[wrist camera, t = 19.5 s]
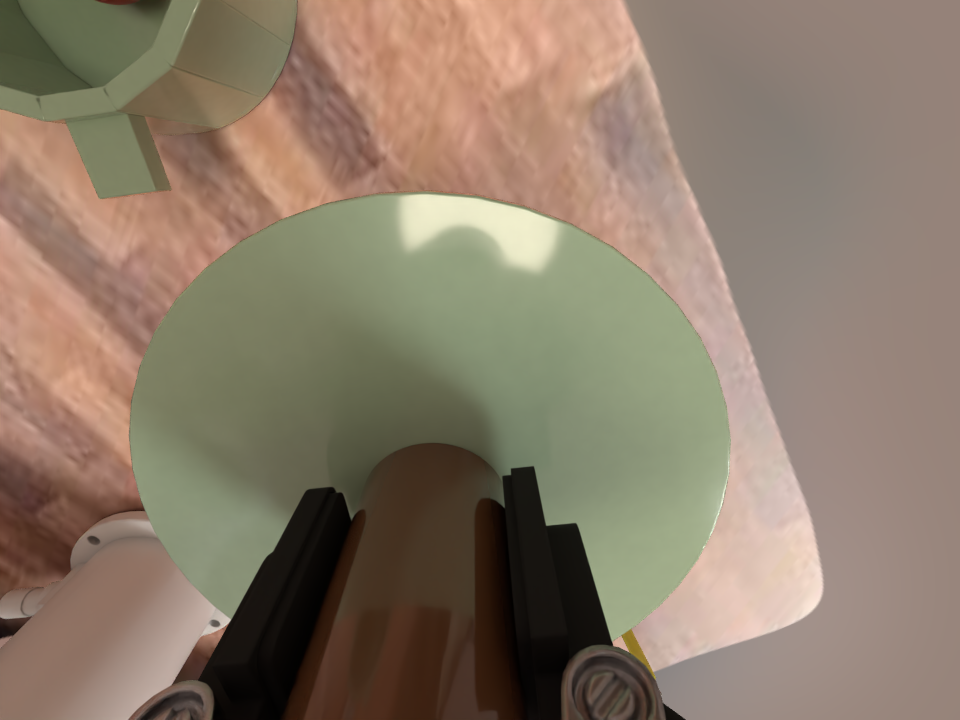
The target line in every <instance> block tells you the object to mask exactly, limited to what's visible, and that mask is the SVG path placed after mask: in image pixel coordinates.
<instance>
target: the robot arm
mask: <svg viewBox="0 0 960 720" xmlns="http://www.w3.org/2000/svg"><path fill="white" fill-rule="evenodd" d="M502 481H503V493H504V504H505V515H506V526H507V538H508V549H509V560H510V571H511V583H512V594H513V605H514V617H515V627H516V637H517V646H518V655H519V663H520V671H521V679H522V687H523V689H524V691H525V695H526V699H527V706H528V716H529V720H685V719H684V718H683V717H681V716H680V715H678V714H677V713H676V712H675V711H673V710H672V709H670V708H669V707H667V706H666V705H665V704H664V703H663V702H662V697H661V694H660V691H659V688H658V686H657V683H656V680H655V679H654V677H653V676H652V674H651V673H650V671H649V670H648V668H647V667H646V666H645V665H644V664H643V663H642V662H641V661H640V660H639V659H637V658H636V657H635V656H634V655H633V654H631V653H629V652H627V651H625V650H623V649H621V648H619V647H614V646H613V643H612V640H611V637H610V633H609V630H608V626H607V623H606V619H605V616H604V613H603V609H602V606H601V602H600V599H599V596H598V592H597V589H596V585H595V582H594V578H593V575H592V572H591V568H590V565H589V561H588V558H587V555H586V551H585V548H584V544H583V541H582V538H581V534H580V531H579V528H578V525H577V524H576V523H569V524H559V525H549V526H546V523H545V518H544V513H543V508H542V503H541V498H540V493H539V488H538V483H537V478H536V473H535V468H534V466H530V467H520V468H511V475H505V476H502ZM350 524H351V518H350V514H349V511H348V507H347V504H346V501H345V497H344V495H343V493H342V492H336V490H335V488H334V487H323V488H313V489H308V490H306V492H305V493H304V495H303V496H302V498H301V500H300V502H299V504H298V506H297V508H296V510H295V511H294V513H293V515H292V517H291V519H290V521H289V523H288V524H287V526H286V528H285V530H284V532H283V534H282V536H281V538H280V539H279V541H278V543H277V545H276V547H275V549H274V551H273V552H272V553H270V554H269V555H268V556H267V557H266V558H265V560H264V561H263V563H262V564H261V566H260V568H259V570H258V572H257V574H256V575H255V577H254V579H253V581H252V583H251V584H250V586H249V588H248V590H247V592H246V594H245V595H244V597H243V599H242V601H241V603H240V605H239V606H238V608H237V610H236V612H235V614H234V616H233V617H232V619H230V618H228V617H227V616H226V615H225V614H223V613H222V612H221V611H220V610H218V609H217V608H216V607H214V606H213V605H212V604H211V603H210V602H209V601H208V600H207V599H206V598H205V597H204V596H203V595H202V594H201V593H200V592H199V591H198V590H197V589H196V588H195V587H194V586H193V585H192V584H191V583H190V582H189V581H188V579H187V578H186V577H185V576H184V574H183V573H182V572H181V571H180V569H179V568H178V567H177V566H176V564H175V563H174V562H173V561H172V559H171V558H170V556H169V555H168V553H167V552H166V550H165V548H164V547H163V545H162V543H161V542H160V540H159V538H158V537H157V535H156V533H155V532H154V530H153V528H152V525H151V523H150V521H149V518H148V516H147V514H146V511H129V512H124V513H118V514H114V515H112V516H109V517H107V518H104V519H102V520H100V521H99V522H97V523H96V524H94V525H93V526H92V527H91V528H90V529H89V530H87V531H86V532H85V533H84V534H83V535H82V536H81V537H80V538H79V539H78V541H77V542H76V544H75V546H74V547H73V550H72V554H71V558H70V564H71V571H70V572H69V573H68V574H67V575H66V576H65V577H64V578H63V579H62V580H60V581H56V582H52V583H51V584H49V585H48V586H46V587H45V588H43V587H32V588H22V589H14V590H12V591H9V592H8V593H7V594H5V595H4V596H3V597H2V599H1V600H0V617H1V618H4V619H12V618H22V617H30V616H33V617H32V618H31V619H30V620H29V621H28V622H27V623H26V624H25V625H24V626H23V627H22V628H21V629H20V630H19V631H18V632H17V633H16V634H15V635H14V636H13V637H12V638H11V639H10V640H9V641H8V642H7V643H6V644H5V645H4V646H3V647H2V648H1V649H0V720H281V718H282V715H283V712H284V709H285V706H286V704H287V701H288V698H289V695H290V692H291V690H292V687H293V684H294V681H295V678H296V675H297V673H298V670H299V667H300V664H301V661H302V659H303V656H304V653H305V650H306V647H307V645H308V642H309V639H310V636H311V633H312V631H313V628H314V625H315V622H316V619H317V616H318V614H319V611H320V608H321V605H322V602H323V600H324V597H325V594H326V591H327V588H328V586H329V583H330V580H331V577H332V574H333V572H334V569H335V566H336V563H337V560H338V557H339V555H340V552H341V549H342V546H343V543H344V541H345V538H346V535H347V532H348V529H349V527H350ZM229 622H230V623H229ZM228 623H229V625H228V626H227V628H226V630H225V632H224V634H223V636H222V637H221V639H220V641H219V643H218V645H217V647H216V648H215V650H214V652H213V654H212V656H211V658H210V659H209V661H208V663H207V665H206V667H205V669H204V670H203V672H202V674H201V676H200V678H199V679H198V681H197V680H193V681H183V682H180V683H177V684H175V685H172V683H173V681H174V680H175V678H176V676H177V675H178V673H179V671H180V670H181V668H182V666H183V665H184V663H185V661H186V660H187V658H188V656H189V655H190V653H191V651H192V650H193V648H194V646H195V645H196V643H197V641H198V639H199V638H200V636H204V635H207V634H210V633H213V632H216V631H217V630H219V629H221V628H223V627H225V626H226V625H227V624H228ZM171 685H172V686H171Z"/></svg>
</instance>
